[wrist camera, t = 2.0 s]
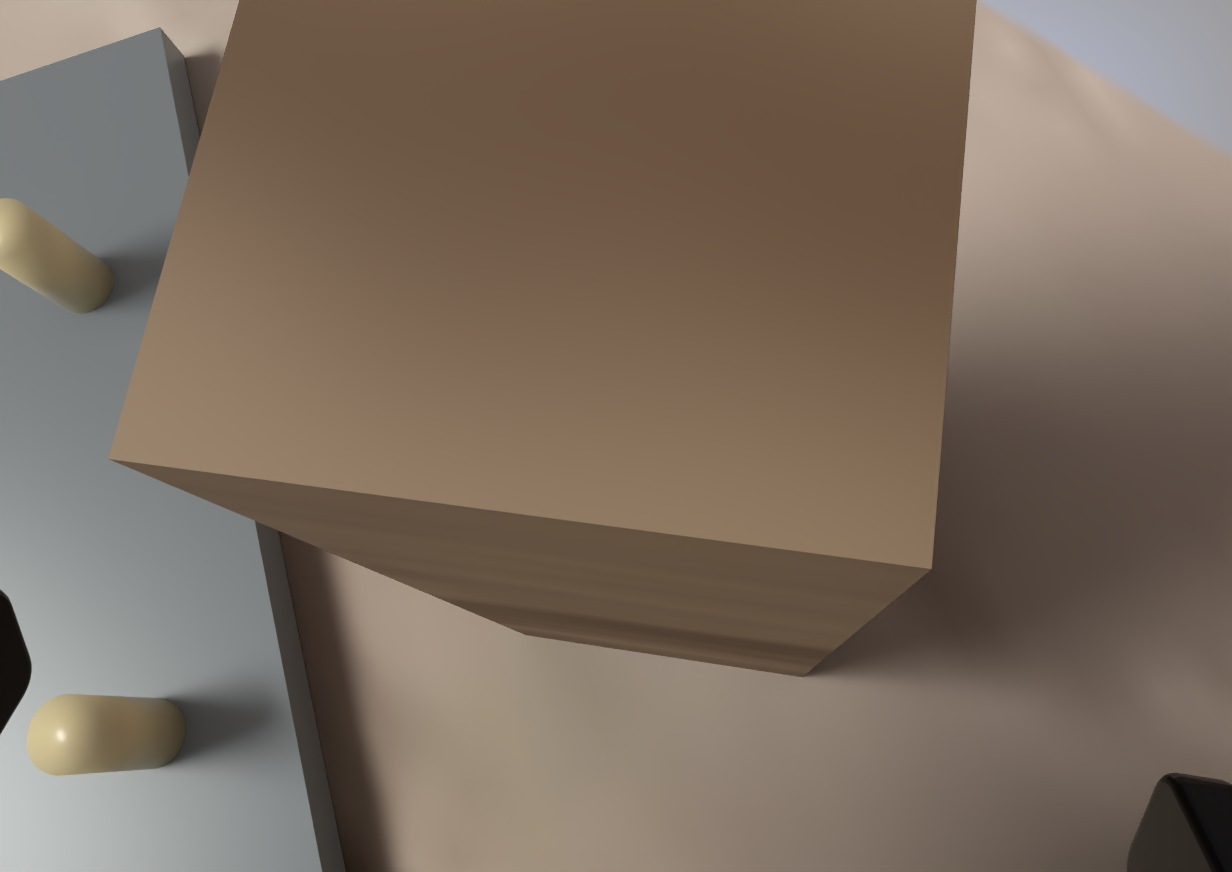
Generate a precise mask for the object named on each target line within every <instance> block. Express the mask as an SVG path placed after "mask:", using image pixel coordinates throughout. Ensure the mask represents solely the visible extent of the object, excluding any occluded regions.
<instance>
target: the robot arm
mask: <svg viewBox="0 0 1232 872" xmlns="http://www.w3.org/2000/svg"><path fill="white" fill-rule="evenodd" d="M31 673H32V662H31V658H30V655H29V652H28V649H27V646H26V643H25V641H24V638H23V635H22V632H21V629H20V626H19V623H18V620H17V618H16V615H15V612H14V609H13V606H12V603H11V601H10V599H9V597H8V596H7V595H6V594H5V593H4V592H3V591H2V590H0V735H1V733H2V731H3V730H4V728H5V726H6V725H7V723H8V721H9V720H10V718H11V716H12V715H13V713H14V711H15V710H16V708H17V706H18V704H19V703H20V701H21V699H22V698H23V696H24V694H25V692H26V690H27V688H28V685H29V683H30V679H31ZM1127 872H1232V784H1230V783H1228V782H1225V781H1222V780H1218V779H1212V778H1205V777H1199V776H1193V775H1187V774H1180V773H1170V774H1167V775H1164V776H1163V777H1162V778H1161V779H1160V780H1159V782H1158V783H1157V785H1156V787H1155V789H1154V791H1153V794H1152V796H1151V799H1150V801H1149V803H1148V806H1147V808H1146V811H1145V813H1144V816H1143V818H1142V820H1141V823H1140V825H1139V828H1138V830H1137V832H1136V835H1135V837H1134V840H1133V842H1132V844H1131V847H1130V850H1129V855H1128V861H1127Z"/></svg>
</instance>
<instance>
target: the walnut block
mask: <svg viewBox="0 0 1232 872" xmlns="http://www.w3.org/2000/svg"><path fill="white" fill-rule="evenodd" d="M976 1H977V0H239V4H238V7H237V11H236V14H235V18H234V21H233V25H232V28H231V32H230V35H229V39H228V42H227V46H226V49H225V53H224V56H223V60H222V63H221V67H220V70H219V74H218V77H217V81H216V84H215V88H214V91H213V95H212V98H211V101H210V105H209V108H208V112H207V115H206V119H205V122H204V126H203V129H202V133H201V136H200V140H199V143H198V147H197V150H196V154H195V157H194V161H193V164H192V168H191V171H190V175H189V178H188V182H187V185H186V189H185V192H184V196H183V199H182V202H181V206H180V209H179V213H178V216H177V220H176V223H175V227H174V230H173V234H172V237H171V241H170V244H169V248H168V251H167V255H166V258H165V262H164V265H163V269H162V272H161V276H160V279H159V283H158V286H157V290H156V293H155V297H154V300H153V303H152V307H151V310H150V314H149V317H148V321H147V324H146V328H145V331H144V335H143V338H142V342H141V345H140V349H139V352H138V356H137V359H136V363H135V366H134V370H133V373H132V377H131V380H130V384H129V387H128V391H127V394H126V398H125V401H124V405H123V408H122V411H121V415H120V418H119V422H118V425H117V429H116V432H115V436H114V439H113V443H112V446H111V450H110V453H109V457H108V459H109V460H112V461H114V462H116V463H119V464H121V465H124V466H126V467H128V468H131V469H133V470H135V471H138V472H140V473H143V474H145V475H147V476H150V477H152V478H154V479H157V480H159V481H162V482H164V483H166V484H169V485H171V486H173V487H176V488H178V489H181V490H183V491H185V492H188V493H190V494H192V495H195V496H197V497H200V498H202V499H204V500H207V501H209V502H211V503H214V504H216V505H219V506H221V507H223V508H226V509H228V510H230V511H233V512H235V513H238V514H240V515H242V516H245V517H247V518H249V519H252V520H254V521H257V522H259V523H261V524H264V525H266V526H268V527H271V528H273V529H276V530H278V531H280V532H283V533H285V534H287V535H290V536H292V537H295V538H297V539H299V540H302V541H304V542H306V543H309V544H311V545H314V546H316V547H318V548H321V549H323V550H325V551H328V552H330V553H333V554H335V555H337V556H340V557H342V558H344V559H347V560H349V561H352V562H354V563H356V564H359V565H361V566H363V567H366V568H368V569H371V570H373V571H375V572H378V573H380V574H382V575H385V576H387V577H390V578H392V579H394V580H397V581H399V582H401V583H404V584H406V585H409V586H411V587H413V588H416V589H418V590H420V591H423V592H425V593H428V594H430V595H432V596H435V597H437V598H439V599H442V600H444V601H446V602H449V603H451V604H454V605H456V606H458V607H461V608H463V609H465V610H468V611H470V612H473V613H475V614H477V615H480V616H482V617H484V618H487V619H489V620H492V621H494V622H496V623H499V624H501V625H503V626H506V627H508V628H511V629H513V630H515V631H518V632H520V633H522V634H525V635H530V636H536V637H543V638H549V639H556V640H562V641H569V642H575V643H582V644H589V645H595V646H602V647H608V648H615V649H621V650H628V651H635V652H641V653H648V654H654V655H661V656H667V657H674V658H681V659H687V660H694V661H700V662H707V663H713V664H720V665H727V666H733V667H740V668H746V669H753V670H759V671H766V672H773V673H779V674H786V675H792V676H799V677H803V676H804V675H806V674H807V673H808V672H809V671H810V670H812V669H813V668H814V667H815V666H816V665H817V664H819V663H820V662H821V661H822V660H823V659H825V658H826V657H827V656H828V655H829V654H831V653H832V652H833V651H834V650H835V649H837V648H838V647H839V646H840V645H841V644H843V643H844V642H845V641H846V640H847V639H849V638H850V637H851V636H852V635H853V634H855V633H856V632H857V631H858V630H859V629H861V628H862V627H863V626H864V625H865V624H867V623H868V622H869V621H870V620H871V619H873V618H874V617H875V616H876V615H877V614H879V613H880V612H881V611H882V610H883V609H885V608H886V607H887V606H888V605H889V604H891V603H892V602H893V601H894V600H895V599H897V598H898V597H899V596H900V595H901V594H903V593H904V592H905V591H906V590H907V589H909V588H910V587H911V586H912V585H913V584H915V583H916V582H917V581H918V580H919V579H920V578H922V577H923V576H924V575H925V574H926V573H928V572H929V571H930V570H931V569H932V559H933V546H934V534H935V521H936V508H937V496H938V483H939V470H940V458H941V445H942V432H943V419H944V407H945V394H946V381H947V369H948V356H949V343H950V331H951V318H952V305H953V293H954V280H955V267H956V254H957V242H958V229H959V216H960V204H961V191H962V178H963V166H964V153H965V140H966V128H967V115H968V102H969V90H970V77H971V64H972V51H973V39H974V26H975V13H976Z"/></svg>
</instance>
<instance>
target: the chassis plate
mask: <svg viewBox="0 0 1232 872" xmlns="http://www.w3.org/2000/svg"><path fill="white" fill-rule="evenodd" d="M199 140H200V135H199V130H198V125H197V120H196V115H195V110H194V105H193V100H192V94H191V89H190V84H189V79H188V74H187V69H186V64H185V59H184V56H183V54H182V53H181V52H180V51H179V50H178V48H177V47H176V46H175V45H174V44H173V42H172V41H171V40H170V39H169V38H168V36H167V35H166V34H165V33H164V32H163V30H162V29H161V28H160V27H159V28H156V29H154V30H151V31H148V32H145V33H142V34H139V35H136V36H133V37H130V38H127V39H124V40H121V41H118V42H115V43H112V44H109V45H106V46H103V47H100V48H97V49H94V50H91V51H88V52H85V53H82V54H79V55H76V56H73V57H70V58H67V59H65V60H62V61H59V62H56V63H53V64H50V65H47V66H44V67H41V68H38V69H35V70H32V71H29V72H26V73H23V74H20V75H17V76H14V77H11V78H8V79H5V80H2V81H0V590H2V591H3V592H4V593H5V594H6V595H7V596H8V597H9V599H10V601H11V603H12V606H13V609H14V612H15V615H16V618H17V620H18V623H19V626H20V629H21V632H22V635H23V638H24V641H25V643H26V646H27V649H28V652H29V655H30V658H31V662H32V673H31V679H30V683H29V685H28V688H27V690H26V692H25V694H24V696H23V698H22V699H21V701H20V703H19V704H18V706H17V708H16V710H15V711H14V713H13V715H12V716H11V718H10V720H9V721H8V723H7V725H6V726H5V728H4V730H3V731H2V733H1V735H0V872H346V870H345V865H344V860H343V855H342V850H341V845H340V840H339V835H338V830H337V825H336V820H335V815H334V809H333V804H332V799H331V794H330V789H329V784H328V779H327V774H326V769H325V764H324V759H323V754H322V749H321V744H320V739H319V734H318V729H317V724H316V719H315V714H314V709H313V704H312V699H311V694H310V689H309V684H308V679H307V674H306V668H305V663H304V658H303V653H302V648H301V643H300V638H299V633H298V628H297V623H296V618H295V613H294V608H293V603H292V598H291V593H290V588H289V583H288V578H287V573H286V568H285V563H284V558H283V553H282V548H281V543H280V538H279V533H278V530H276V529H273V528H271V527H268V526H266V525H264V524H261V523H259V522H257V521H254V520H252V519H249V518H247V517H245V516H242V515H240V514H238V513H235V512H233V511H230V510H228V509H226V508H223V507H221V506H219V505H216V504H214V503H211V502H209V501H207V500H204V499H202V498H200V497H197V496H195V495H192V494H190V493H188V492H185V491H183V490H181V489H178V488H176V487H173V486H171V485H169V484H166V483H164V482H162V481H159V480H157V479H154V478H152V477H150V476H147V475H145V474H143V473H140V472H138V471H135V470H133V469H131V468H128V467H126V466H124V465H121V464H119V463H116V462H114V461H112V460H109V459H108V457H109V453H110V450H111V446H112V443H113V439H114V436H115V432H116V429H117V425H118V422H119V418H120V415H121V411H122V408H123V405H124V401H125V398H126V394H127V391H128V387H129V384H130V380H131V377H132V373H133V370H134V366H135V363H136V359H137V356H138V352H139V349H140V345H141V342H142V338H143V335H144V331H145V328H146V324H147V321H148V317H149V314H150V310H151V307H152V303H153V300H154V297H155V293H156V290H157V286H158V283H159V279H160V276H161V272H162V269H163V265H164V262H165V258H166V255H167V251H168V248H169V244H170V241H171V237H172V234H173V230H174V227H175V223H176V220H177V216H178V213H179V209H180V206H181V202H182V199H183V196H184V192H185V189H186V185H187V182H188V178H189V175H190V171H191V168H192V164H193V161H194V157H195V154H196V150H197V147H198V143H199Z"/></svg>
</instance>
